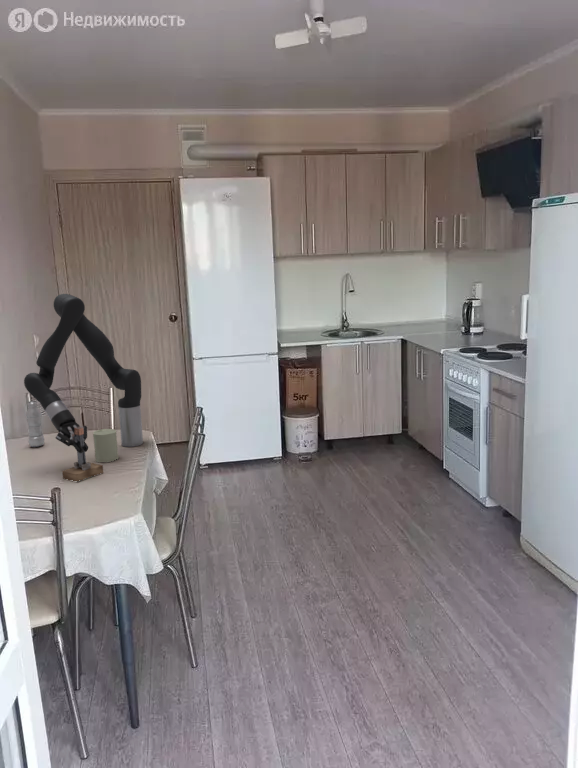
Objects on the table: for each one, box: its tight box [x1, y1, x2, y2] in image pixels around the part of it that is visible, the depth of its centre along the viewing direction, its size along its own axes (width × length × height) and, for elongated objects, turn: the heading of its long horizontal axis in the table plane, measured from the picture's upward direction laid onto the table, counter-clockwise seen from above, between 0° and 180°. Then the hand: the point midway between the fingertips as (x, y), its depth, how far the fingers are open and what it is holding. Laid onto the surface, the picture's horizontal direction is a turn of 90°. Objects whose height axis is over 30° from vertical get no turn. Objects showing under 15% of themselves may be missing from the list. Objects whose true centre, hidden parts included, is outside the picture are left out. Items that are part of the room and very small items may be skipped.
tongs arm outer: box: [74, 428, 84, 468], centre depth 231 cm, size 1×3×15 cm, turn 56°
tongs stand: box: [61, 461, 104, 482], centre depth 233 cm, size 12×8×5 cm, turn 147°
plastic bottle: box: [25, 400, 45, 448], centre depth 272 cm, size 6×7×20 cm
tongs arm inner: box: [77, 427, 87, 464], centre depth 232 cm, size 1×3×15 cm, turn 57°
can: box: [92, 428, 120, 463], centre depth 252 cm, size 9×9×12 cm
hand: (84, 451), depth 230 cm, fingers closed
